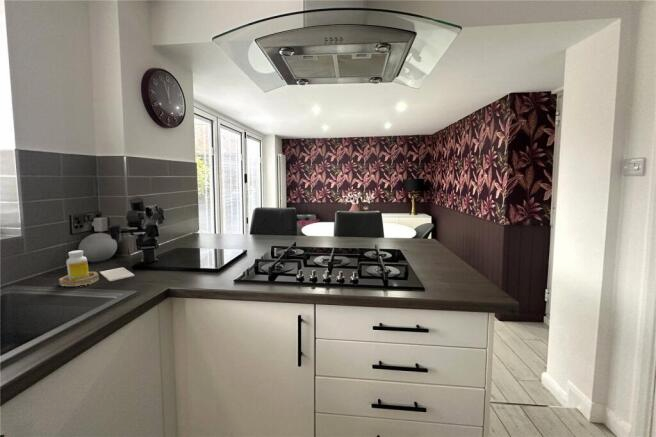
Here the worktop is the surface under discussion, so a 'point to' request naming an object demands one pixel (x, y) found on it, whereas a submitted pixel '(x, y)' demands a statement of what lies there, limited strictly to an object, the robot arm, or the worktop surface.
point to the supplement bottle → (77, 266)
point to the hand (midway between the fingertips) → (130, 241)
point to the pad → (116, 274)
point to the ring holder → (92, 278)
